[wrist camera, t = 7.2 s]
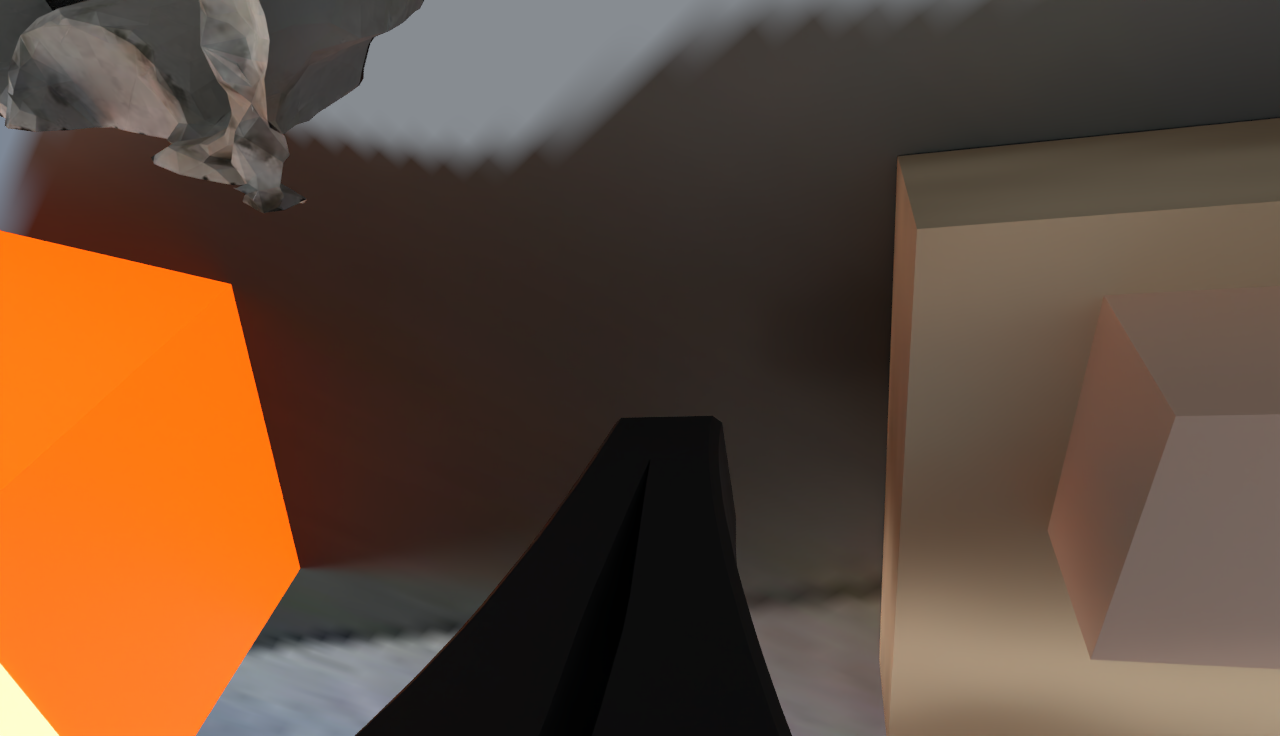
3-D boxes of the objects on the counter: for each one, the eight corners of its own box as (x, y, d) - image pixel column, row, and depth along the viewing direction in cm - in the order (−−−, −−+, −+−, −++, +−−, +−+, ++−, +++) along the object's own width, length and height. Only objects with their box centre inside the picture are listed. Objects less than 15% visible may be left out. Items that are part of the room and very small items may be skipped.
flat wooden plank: (1415, 689, 14) (1490, 798, 13) (879, 660, 17) (888, 750, 15) (1974, 48, 7) (2294, 123, 6) (897, 156, 10) (917, 229, 8)
